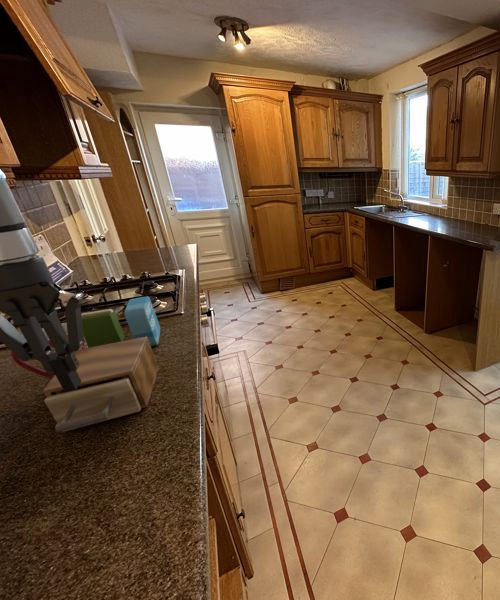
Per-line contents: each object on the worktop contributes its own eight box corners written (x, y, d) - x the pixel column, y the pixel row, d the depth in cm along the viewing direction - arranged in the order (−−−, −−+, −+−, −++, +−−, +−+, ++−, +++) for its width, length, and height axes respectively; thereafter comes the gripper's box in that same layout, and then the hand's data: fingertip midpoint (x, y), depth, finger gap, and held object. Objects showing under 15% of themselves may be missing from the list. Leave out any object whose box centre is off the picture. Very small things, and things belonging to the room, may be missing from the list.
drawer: (133, 431, 62) (118, 400, 59) (47, 456, 57) (26, 423, 54) (153, 373, 79) (142, 346, 76) (88, 388, 74) (74, 360, 71)
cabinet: (147, 407, 70) (131, 370, 66) (64, 429, 64) (42, 390, 60) (159, 368, 83) (146, 336, 79) (91, 384, 77) (74, 350, 73)
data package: (158, 346, 92) (144, 309, 87) (138, 351, 90) (123, 313, 85) (161, 329, 102) (148, 294, 97) (143, 333, 100) (130, 297, 95)
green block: (91, 343, 95) (77, 312, 91) (125, 336, 98) (112, 306, 94) (86, 349, 91) (71, 318, 87) (121, 342, 95) (108, 312, 91)
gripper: (-79, 273, 42) (11, 412, 52) (52, 259, 48) (112, 387, 57) (-41, 259, 49) (34, 385, 58) (72, 248, 54) (123, 365, 63)
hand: (73, 386), depth 58 cm, fingers closed
